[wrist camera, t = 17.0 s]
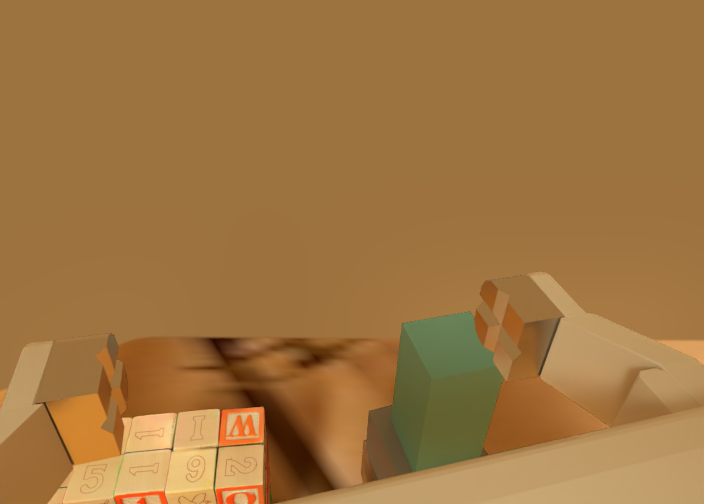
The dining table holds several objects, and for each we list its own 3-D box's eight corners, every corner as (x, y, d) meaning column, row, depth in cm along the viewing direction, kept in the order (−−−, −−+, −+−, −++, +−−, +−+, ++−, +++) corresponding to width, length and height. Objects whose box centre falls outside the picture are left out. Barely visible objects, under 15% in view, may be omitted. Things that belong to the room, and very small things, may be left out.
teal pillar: (479, 460, 37) (507, 363, 31) (414, 477, 36) (431, 379, 30) (449, 406, 41) (470, 311, 35) (390, 419, 40) (402, 323, 34)
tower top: (481, 501, 39) (493, 464, 37) (397, 529, 38) (404, 492, 35) (440, 428, 45) (448, 390, 42) (365, 449, 43) (368, 411, 40)
